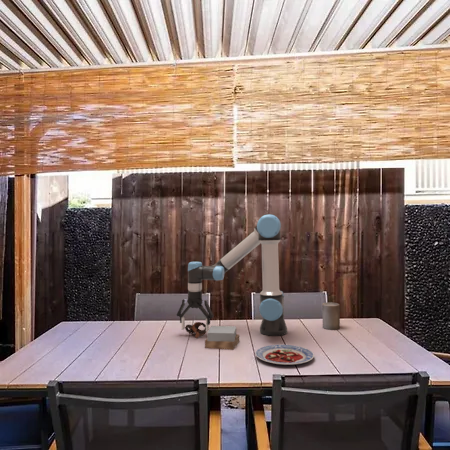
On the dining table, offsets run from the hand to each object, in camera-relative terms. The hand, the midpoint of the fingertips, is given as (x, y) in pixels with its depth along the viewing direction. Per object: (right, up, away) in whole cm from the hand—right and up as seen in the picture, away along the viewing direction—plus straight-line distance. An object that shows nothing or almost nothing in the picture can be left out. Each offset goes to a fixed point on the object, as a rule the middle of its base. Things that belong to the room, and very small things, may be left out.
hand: (195, 330), depth 208 cm
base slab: (+15, -4, -15) cm, 22 cm away
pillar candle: (+77, -2, +13) cm, 78 cm away
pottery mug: (0, -4, +1) cm, 4 cm away
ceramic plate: (+43, -3, -36) cm, 56 cm away
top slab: (+15, 0, -15) cm, 21 cm away
